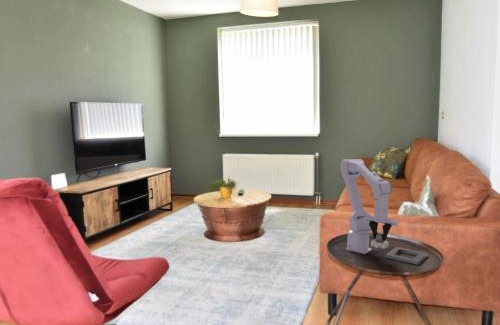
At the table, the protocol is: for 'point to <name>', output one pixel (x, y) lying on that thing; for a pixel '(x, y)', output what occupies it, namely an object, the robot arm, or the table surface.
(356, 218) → the robot arm
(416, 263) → the carrier plate
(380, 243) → the planet gear
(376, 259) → the table surface
